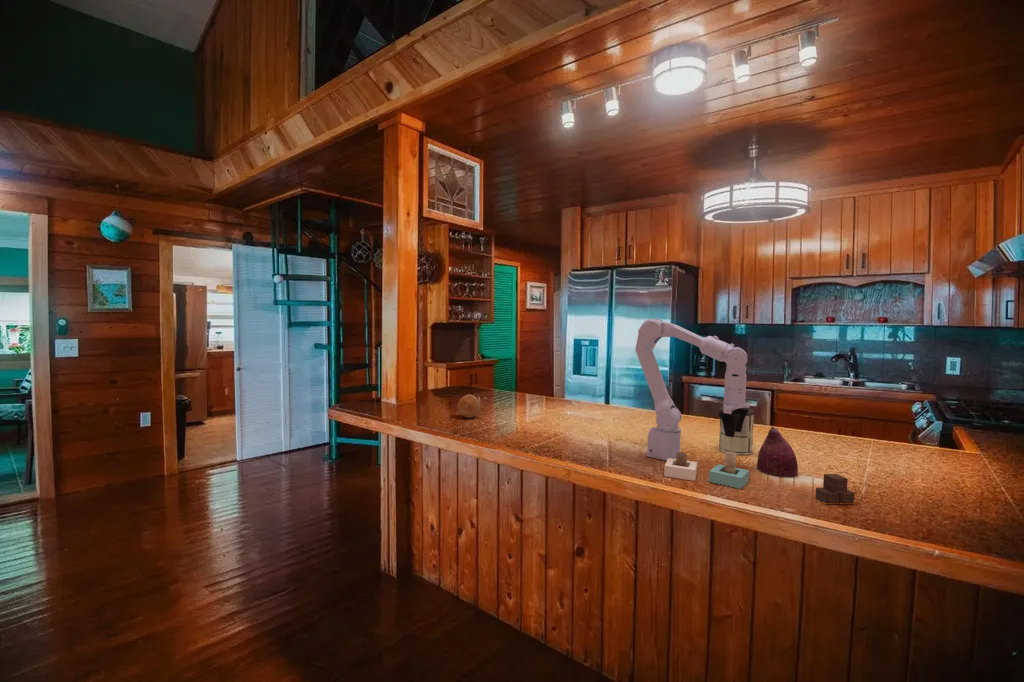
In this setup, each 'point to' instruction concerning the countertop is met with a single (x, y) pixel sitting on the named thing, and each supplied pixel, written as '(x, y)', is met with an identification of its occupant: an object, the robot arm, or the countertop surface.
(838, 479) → the stack of crates
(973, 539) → the countertop surface
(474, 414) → the onion
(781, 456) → the vegetable
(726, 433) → the robot arm
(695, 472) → the white peg holder
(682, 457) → the walnut dowel
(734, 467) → the maple dowel
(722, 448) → the coffee can
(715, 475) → the teal square frame block
